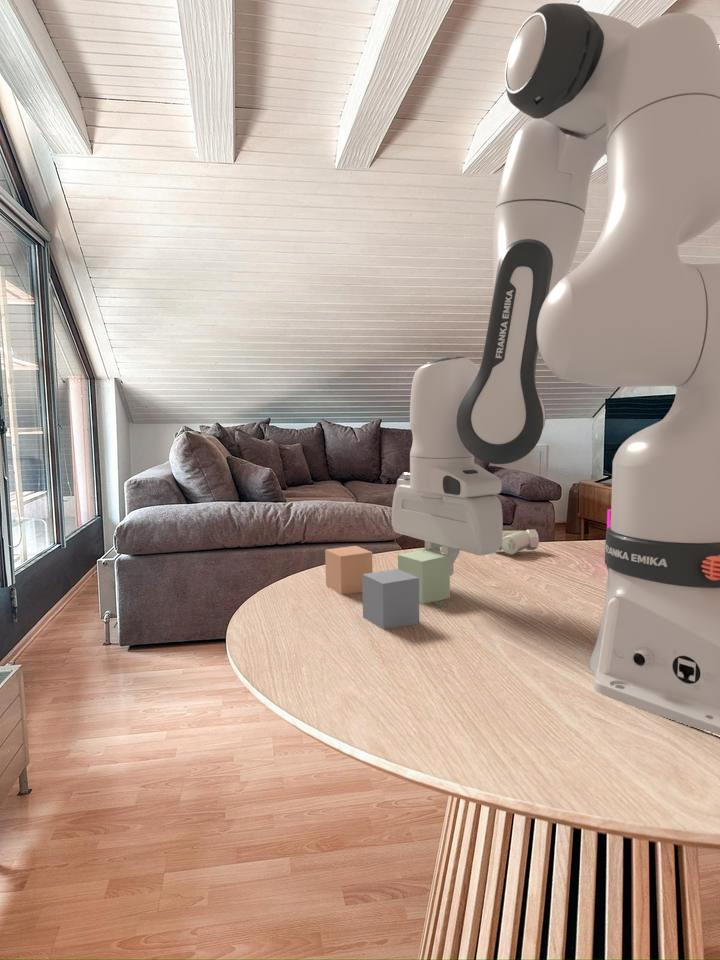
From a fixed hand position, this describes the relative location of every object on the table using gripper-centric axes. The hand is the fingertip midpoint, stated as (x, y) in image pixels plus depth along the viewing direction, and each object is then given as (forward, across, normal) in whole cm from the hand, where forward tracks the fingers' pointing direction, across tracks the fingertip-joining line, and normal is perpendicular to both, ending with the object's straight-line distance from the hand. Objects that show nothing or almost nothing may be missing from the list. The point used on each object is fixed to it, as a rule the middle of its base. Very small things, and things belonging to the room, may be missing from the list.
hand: (441, 574), depth 90 cm
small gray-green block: (+3, +4, -4) cm, 7 cm away
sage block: (+3, 0, -3) cm, 4 cm away
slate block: (+3, +6, -13) cm, 15 cm away
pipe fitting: (+1, -9, +26) cm, 28 cm away
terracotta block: (+3, -8, -10) cm, 14 cm away
